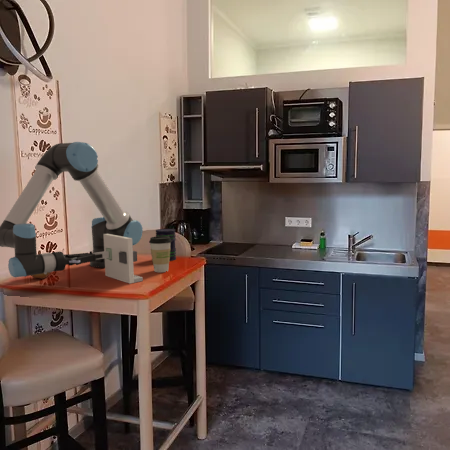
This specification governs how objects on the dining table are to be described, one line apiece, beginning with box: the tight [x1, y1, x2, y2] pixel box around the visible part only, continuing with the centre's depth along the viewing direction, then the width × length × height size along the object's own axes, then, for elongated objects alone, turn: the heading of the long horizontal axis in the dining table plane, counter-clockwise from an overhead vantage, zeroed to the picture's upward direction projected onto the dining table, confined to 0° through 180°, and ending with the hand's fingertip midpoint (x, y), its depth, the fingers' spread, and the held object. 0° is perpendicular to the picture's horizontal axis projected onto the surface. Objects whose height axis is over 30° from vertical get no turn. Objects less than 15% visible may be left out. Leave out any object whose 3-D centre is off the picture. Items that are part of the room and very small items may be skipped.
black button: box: [119, 250, 138, 263], centre depth 190 cm, size 4×6×4 cm, turn 132°
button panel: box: [103, 234, 144, 284], centre depth 195 cm, size 20×6×18 cm, turn 42°
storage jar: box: [155, 228, 177, 262], centre depth 234 cm, size 10×10×15 cm
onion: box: [30, 272, 51, 279], centre depth 198 cm, size 10×10×10 cm
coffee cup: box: [148, 236, 172, 273], centre depth 208 cm, size 10×10×15 cm
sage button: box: [106, 248, 112, 259], centre depth 199 cm, size 4×6×4 cm, turn 132°
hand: (107, 254), depth 197 cm, fingers closed
